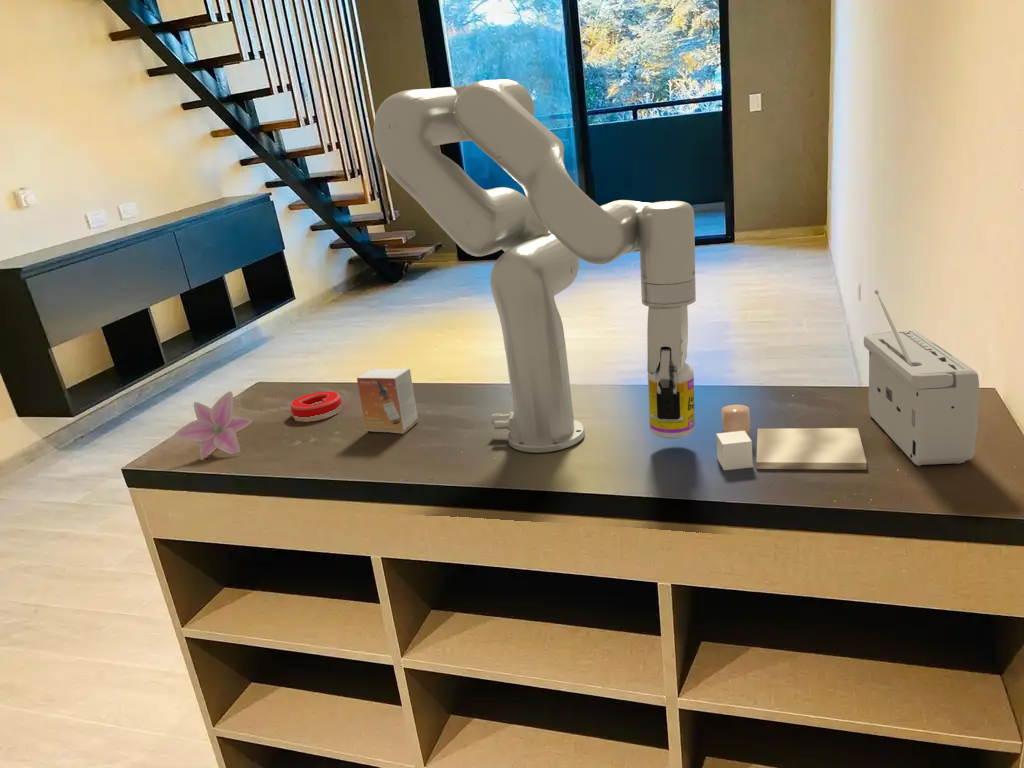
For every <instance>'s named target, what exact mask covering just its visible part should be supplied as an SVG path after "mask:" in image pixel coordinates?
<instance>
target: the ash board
mask: <svg viewBox="0 0 1024 768" xmlns="http://www.w3.org/2000/svg"><path fill="white" fill-rule="evenodd" d="M756 437H757V438H756V439H757V440H756V460H755V461H756V469H757V470H839V471H840V470H842V471H843V470H846V471H847V470H849V471H851V470H854V471H855V470H857V471H861V470H862V471H865V470H868V468H867V467H868V466H867V458H866V455H865V451H864V447H863V443H862V439H861V436H860V432H859V428H858V427H818V428H817V427H815V428H811V427H810V428H809V427H808V428H807V427H806V428H799V427H798V428H794V427H793V428H787V427H785V428H784V427H783V428H757V435H756Z"/></svg>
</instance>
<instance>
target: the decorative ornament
mask: <svg viewBox="0 0 1024 768" xmlns="http://www.w3.org/2000/svg"><path fill="white" fill-rule="evenodd" d="M319 401H322V403H319V404H314V405H310V404H312V403H315V402H319ZM341 403H342V399H341V395H340V393H338V392H335V391H330V390H328V391H327V390H326V391H317V392H312V393H308V394H305V395H302V396H300V397H298V398H296V399H294V400H293V401H292V402H291V403H290V410H291V415H292V414H293V415H294V416H298V417H310V416H315V415H320V414H324V413H327V412H329V411H332V410H334V409H336V408H337V407H338V406H339V405H340V404H341ZM293 415H292V416H293Z"/></svg>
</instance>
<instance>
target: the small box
mask: <svg viewBox="0 0 1024 768" xmlns="http://www.w3.org/2000/svg"><path fill="white" fill-rule="evenodd" d="M356 381H357V387H358V392H359V398H360V404H361V411H362V414H363V421H364V427H365V430H366V429H380V430H381V429H382V430H399V431H401V430H402V431H404V430H405V429H406V428H407V427H408V426H410V425H411V424H412V423H413V422H414V421H415V420H416V419H417V418H418V419H419V417H418V412H417V403H416V399H415V393H414V392H415V391H414V384H413V381H412V373H411V369H410V368H371V369H369V370H367V371H366V372H365V373H362V374H361V375H359V376H358V377H357V378H356Z"/></svg>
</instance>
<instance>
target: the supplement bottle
mask: <svg viewBox="0 0 1024 768" xmlns="http://www.w3.org/2000/svg"><path fill="white" fill-rule="evenodd" d="M687 355H688V350H687V351H686V356H685V360H687ZM670 372H675V368H670ZM694 376H695V374H694V369H693V367H692V366H691V365H689V364H688V363H687V362H685V363H684V368H683V371H682V372H681V373H680V374H679V375H678V392H680V418H679V419H659V418H658V417H657V382H658V367H657V370H656V372H655V373H653V374H652V375H650V374H649V373H648V372H647V389H648V391H647V392H648V393H647V394H648V395H647V396H648V421H649V422H648V423H649V430H650V433H652V435H654V436H655V437H659V438H661V439H662V438H663V439H670V440H671V439H673V440H675V439H681V438H686V437H688V436H689V435H692V433H693V432H694V430H695V383H694V382H695V379H694V378H695V377H694ZM670 380H672V382H673V377H670Z"/></svg>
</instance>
